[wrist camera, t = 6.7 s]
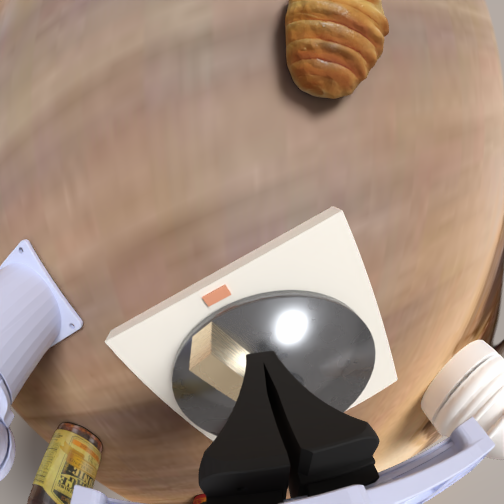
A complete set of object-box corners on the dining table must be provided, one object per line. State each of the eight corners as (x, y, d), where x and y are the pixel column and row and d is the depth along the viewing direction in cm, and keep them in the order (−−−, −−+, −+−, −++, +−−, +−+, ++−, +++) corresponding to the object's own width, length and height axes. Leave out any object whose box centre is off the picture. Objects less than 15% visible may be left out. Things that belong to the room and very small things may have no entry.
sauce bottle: (113, 450, 23) (93, 582, 5) (76, 446, 23) (48, 562, 4) (85, 419, 21) (47, 569, 2) (48, 415, 21) (3, 542, 2)
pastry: (357, 118, 16) (388, 110, 12) (259, 82, 14) (270, 61, 11) (377, 19, 13) (403, 1, 10) (293, -16, 12) (307, -44, 8)
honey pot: (496, 327, 25) (573, 395, 8) (468, 391, 29) (523, 458, 12) (437, 358, 24) (525, 461, 7) (409, 423, 28) (463, 511, 11)
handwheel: (394, 364, 20) (416, 393, 16) (262, 449, 22) (268, 481, 18) (298, 239, 16) (323, 264, 12) (133, 375, 17) (121, 415, 14)
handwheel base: (233, 445, 24) (235, 457, 22) (110, 330, 18) (104, 343, 16) (390, 370, 23) (398, 381, 21) (332, 206, 17) (343, 210, 16)
